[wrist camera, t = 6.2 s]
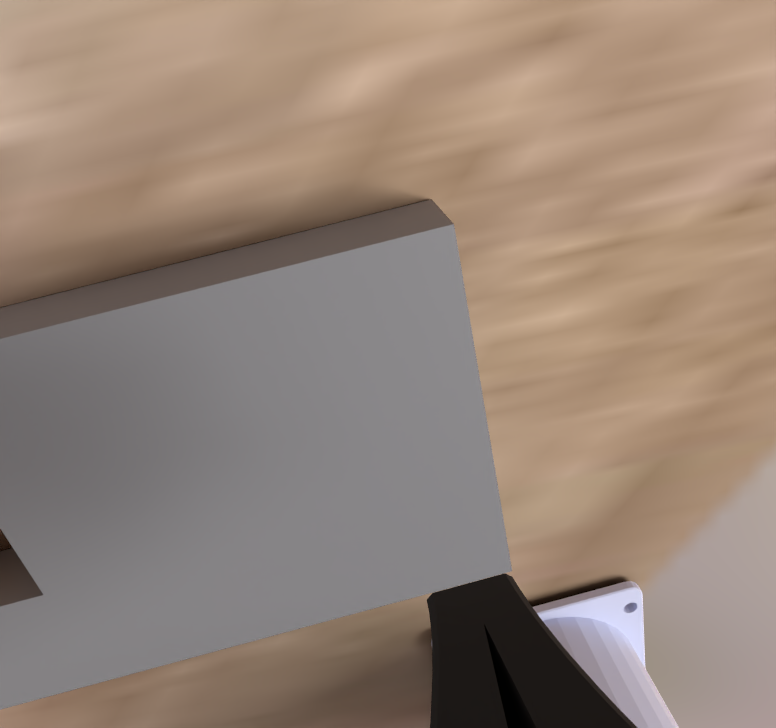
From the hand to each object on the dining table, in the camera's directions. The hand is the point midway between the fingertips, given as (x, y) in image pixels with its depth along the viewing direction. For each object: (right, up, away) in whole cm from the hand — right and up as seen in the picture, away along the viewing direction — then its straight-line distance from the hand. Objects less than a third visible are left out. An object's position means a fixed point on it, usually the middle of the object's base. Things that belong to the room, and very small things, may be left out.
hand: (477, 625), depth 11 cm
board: (-10, +1, +8) cm, 13 cm away
